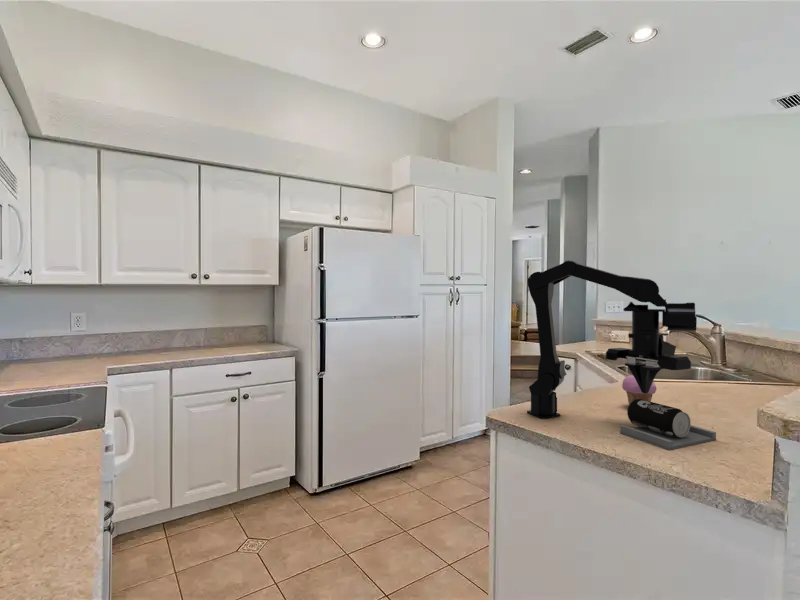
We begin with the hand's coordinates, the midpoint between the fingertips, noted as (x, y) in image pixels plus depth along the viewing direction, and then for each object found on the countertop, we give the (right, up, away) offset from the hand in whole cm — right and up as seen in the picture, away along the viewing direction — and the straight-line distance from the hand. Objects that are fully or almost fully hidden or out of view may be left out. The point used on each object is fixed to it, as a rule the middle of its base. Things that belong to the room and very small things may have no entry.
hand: (645, 393), depth 103 cm
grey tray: (+2, -9, -5) cm, 11 cm away
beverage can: (-1, -5, +3) cm, 6 cm away
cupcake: (+9, -9, +19) cm, 23 cm away
